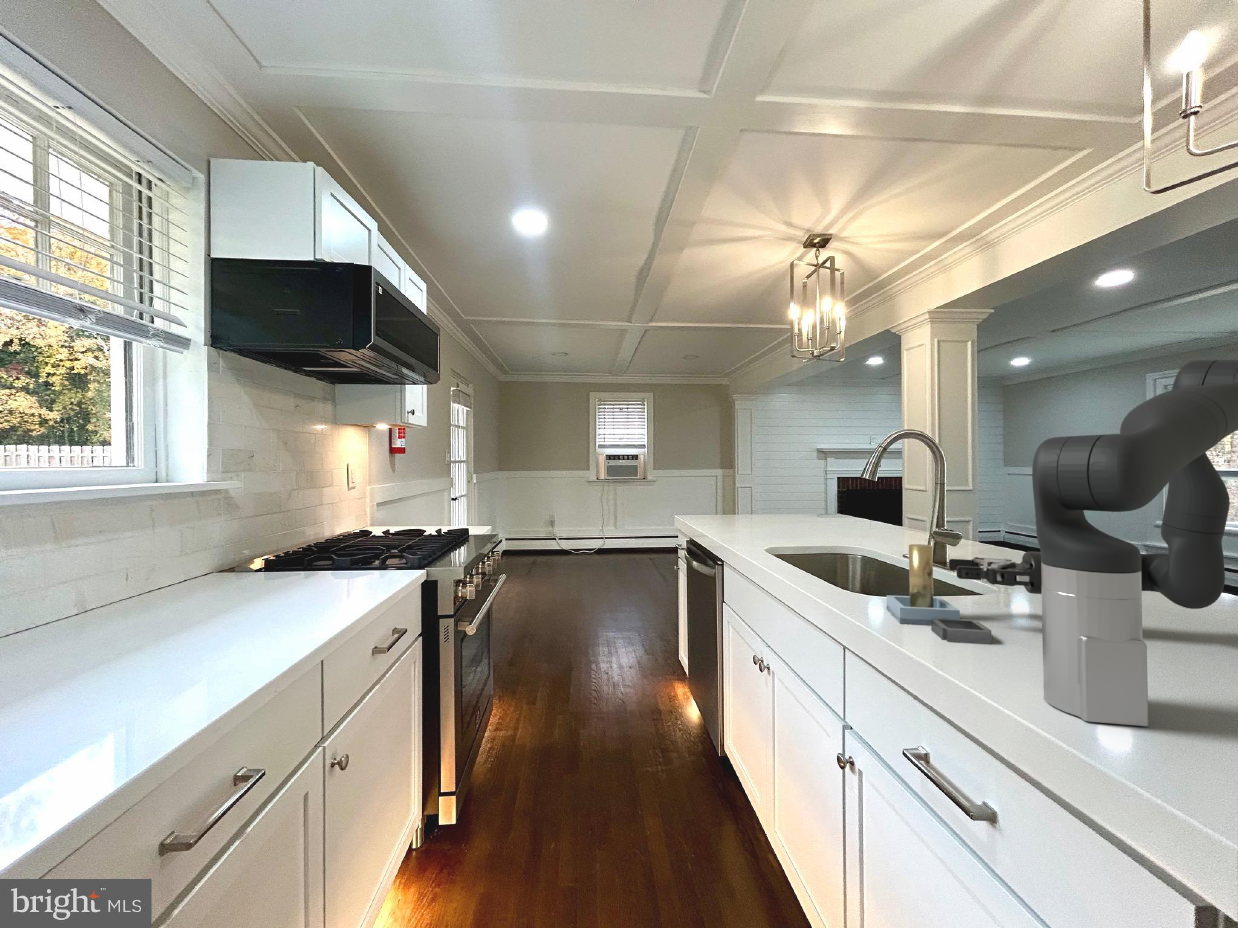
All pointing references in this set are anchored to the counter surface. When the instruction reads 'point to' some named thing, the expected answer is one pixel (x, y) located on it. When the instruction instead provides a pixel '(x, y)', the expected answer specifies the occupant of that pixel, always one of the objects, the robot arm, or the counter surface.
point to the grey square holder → (961, 630)
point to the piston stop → (921, 575)
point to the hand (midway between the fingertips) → (952, 568)
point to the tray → (919, 610)
